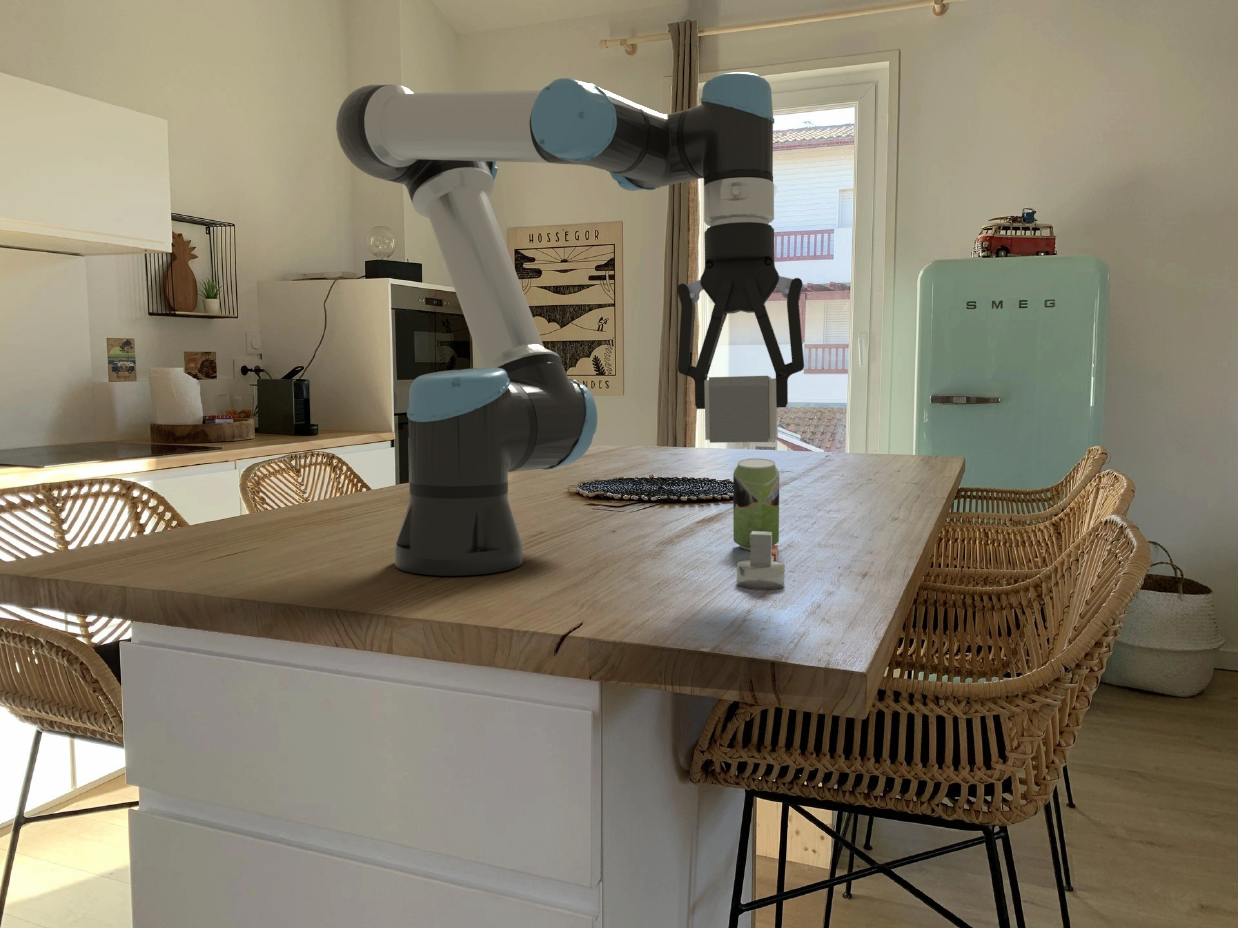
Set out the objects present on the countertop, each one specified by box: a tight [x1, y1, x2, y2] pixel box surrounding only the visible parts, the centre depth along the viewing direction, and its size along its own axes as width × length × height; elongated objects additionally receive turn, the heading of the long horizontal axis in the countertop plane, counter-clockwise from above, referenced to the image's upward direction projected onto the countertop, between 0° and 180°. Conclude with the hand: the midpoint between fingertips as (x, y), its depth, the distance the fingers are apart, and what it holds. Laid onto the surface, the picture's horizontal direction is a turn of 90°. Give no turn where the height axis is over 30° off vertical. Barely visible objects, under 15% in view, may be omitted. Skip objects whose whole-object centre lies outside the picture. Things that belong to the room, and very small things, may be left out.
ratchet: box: [736, 531, 786, 591], centre depth 108 cm, size 5×17×6 cm, turn 168°
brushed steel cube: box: [708, 375, 772, 444], centre depth 102 cm, size 6×6×7 cm
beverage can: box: [732, 458, 780, 551], centre depth 123 cm, size 6×7×12 cm
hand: (741, 438), depth 102 cm, fingers closed on brushed steel cube, 6 cm apart
